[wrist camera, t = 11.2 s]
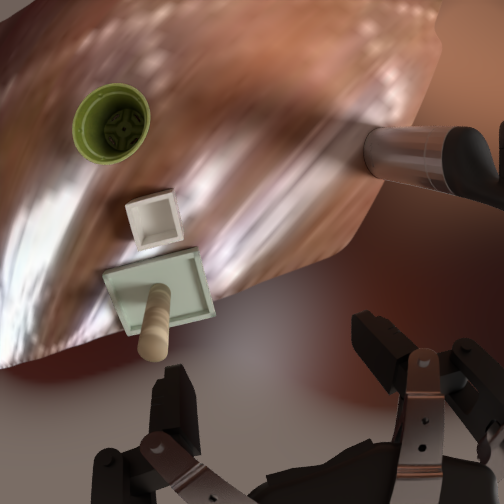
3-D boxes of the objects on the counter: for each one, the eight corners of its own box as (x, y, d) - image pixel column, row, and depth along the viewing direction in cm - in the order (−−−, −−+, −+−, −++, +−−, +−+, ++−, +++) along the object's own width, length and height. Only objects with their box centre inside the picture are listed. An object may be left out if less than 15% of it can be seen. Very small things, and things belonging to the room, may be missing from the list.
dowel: (167, 280, 41) (161, 335, 28) (173, 300, 42) (171, 358, 29) (146, 285, 40) (132, 341, 27) (153, 305, 41) (144, 364, 28)
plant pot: (171, 130, 35) (167, 122, 27) (121, 176, 35) (104, 182, 27) (131, 85, 31) (117, 67, 23) (82, 131, 31) (58, 126, 23)
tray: (198, 246, 41) (198, 250, 39) (214, 309, 45) (216, 316, 43) (105, 270, 39) (101, 275, 37) (129, 329, 42) (127, 336, 41)
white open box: (174, 188, 37) (172, 192, 33) (184, 230, 40) (183, 239, 35) (132, 199, 36) (124, 205, 32) (143, 240, 39) (138, 251, 34)
